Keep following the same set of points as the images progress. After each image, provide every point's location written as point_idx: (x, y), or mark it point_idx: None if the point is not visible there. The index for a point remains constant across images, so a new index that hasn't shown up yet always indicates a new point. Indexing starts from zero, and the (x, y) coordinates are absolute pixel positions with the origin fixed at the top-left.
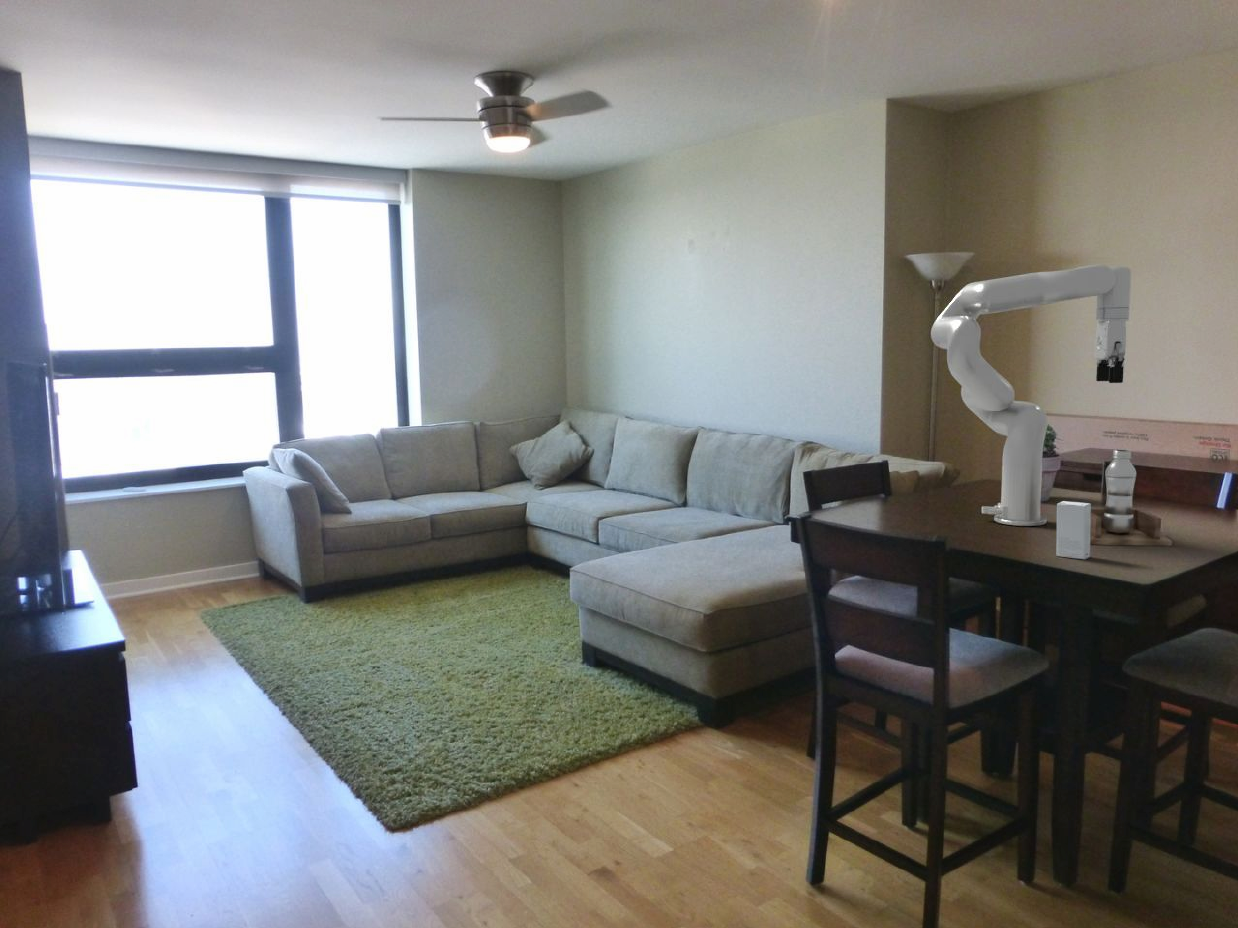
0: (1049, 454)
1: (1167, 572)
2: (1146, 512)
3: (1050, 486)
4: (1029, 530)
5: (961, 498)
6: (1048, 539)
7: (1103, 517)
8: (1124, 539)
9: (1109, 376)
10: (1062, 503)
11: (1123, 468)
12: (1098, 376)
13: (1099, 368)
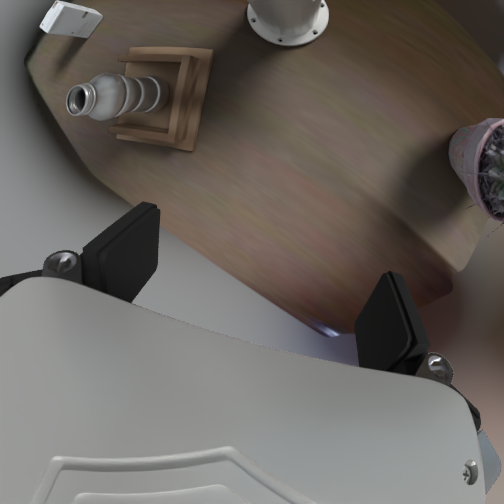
0: (486, 181)
1: (44, 89)
2: (146, 136)
3: (458, 172)
4: (223, 4)
5: (487, 61)
6: (164, 12)
7: (152, 76)
8: None
9: (125, 216)
10: (53, 5)
11: (83, 95)
12: (390, 292)
13: (401, 338)
